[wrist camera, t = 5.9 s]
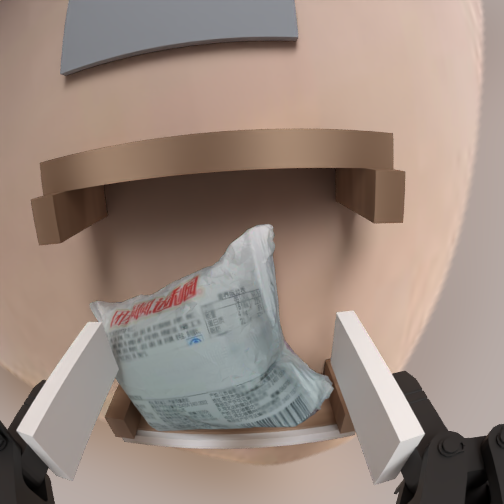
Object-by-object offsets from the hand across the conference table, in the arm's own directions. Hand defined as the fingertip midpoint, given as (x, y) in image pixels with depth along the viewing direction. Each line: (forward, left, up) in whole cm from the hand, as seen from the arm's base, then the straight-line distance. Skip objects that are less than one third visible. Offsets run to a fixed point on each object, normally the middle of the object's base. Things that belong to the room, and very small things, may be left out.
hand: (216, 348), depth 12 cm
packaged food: (+2, 0, -5) cm, 6 cm away
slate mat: (-2, +22, -5) cm, 22 cm away
